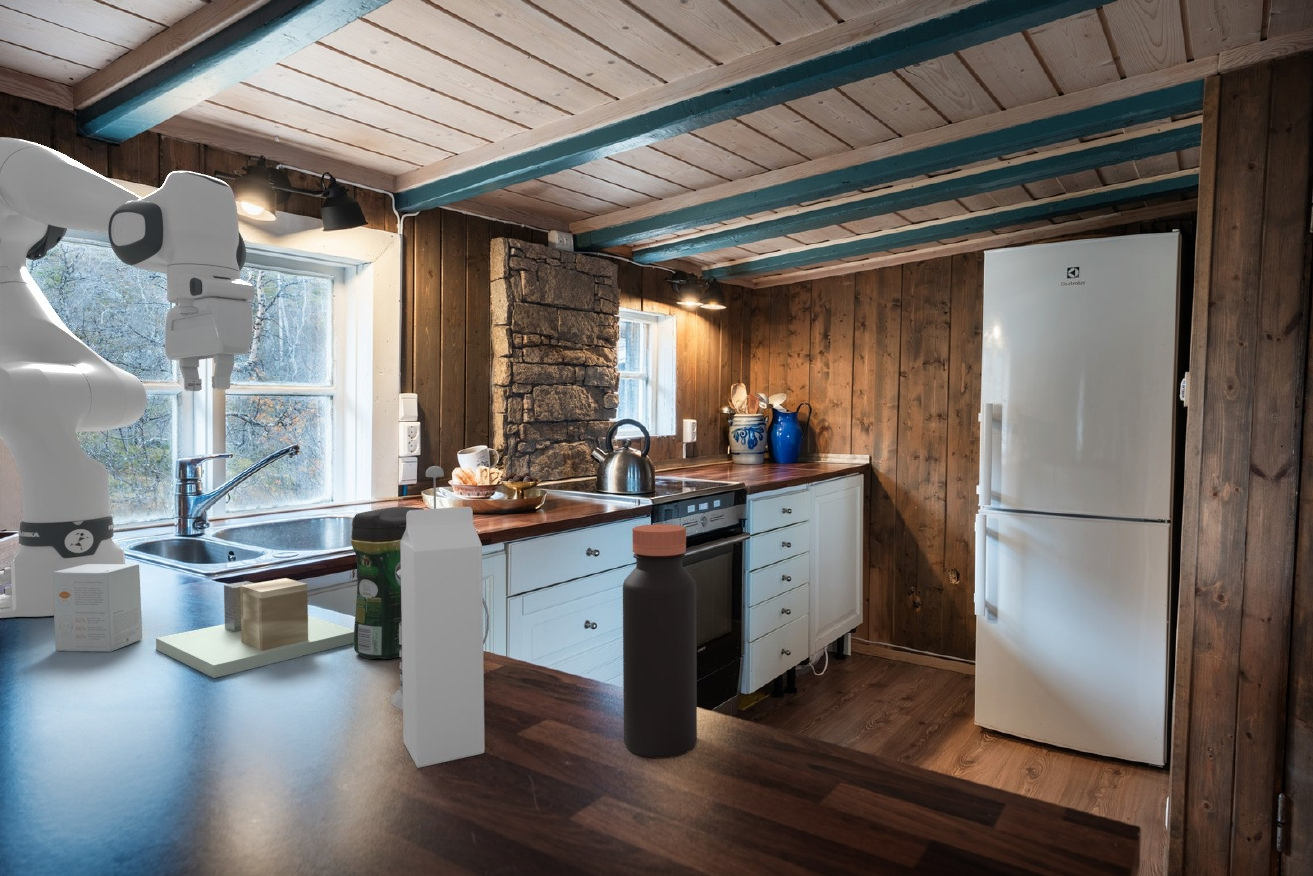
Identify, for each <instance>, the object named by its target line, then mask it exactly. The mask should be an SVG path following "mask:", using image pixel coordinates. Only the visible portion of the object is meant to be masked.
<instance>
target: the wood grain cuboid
mask: <svg viewBox="0 0 1313 876" xmlns="http://www.w3.org/2000/svg"><path fill="white" fill-rule="evenodd" d="M253 583H254V584H248V585H242V586H240V595H241V641H242V643H244V644H247V645H249V646H252V647H254V648H257V649H259V650H261V651H264V650H268V649H273V648H277V647H281V646H285V645H289V644H294V643H298V642H302V641H306V640H308V615H309V612H308V611H309V609H308V608H309V604H308V602H309V601H308V583H306V582H303V581H298V580H295V579H290V578H287V577H284V578H277V579H273V580H267V581H261V582H253Z"/></svg>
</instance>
